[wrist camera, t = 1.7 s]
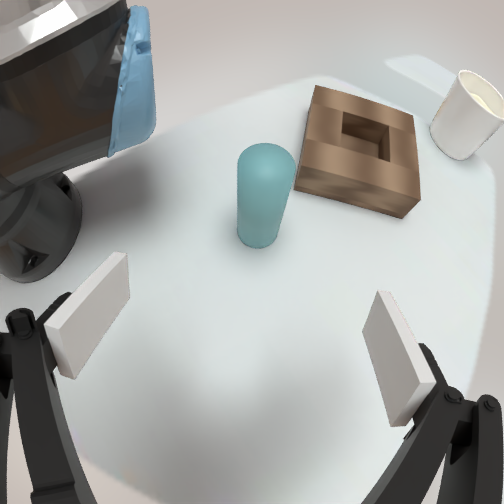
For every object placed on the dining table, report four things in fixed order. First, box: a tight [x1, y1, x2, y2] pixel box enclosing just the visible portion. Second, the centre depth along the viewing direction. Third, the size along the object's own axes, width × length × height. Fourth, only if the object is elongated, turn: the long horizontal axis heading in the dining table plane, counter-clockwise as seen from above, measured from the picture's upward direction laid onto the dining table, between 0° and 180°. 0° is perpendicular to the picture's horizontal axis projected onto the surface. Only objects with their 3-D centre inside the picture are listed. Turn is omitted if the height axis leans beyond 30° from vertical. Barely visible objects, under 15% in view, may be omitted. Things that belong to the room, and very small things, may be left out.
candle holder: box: [430, 70, 504, 160], centre depth 36 cm, size 10×10×12 cm
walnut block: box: [294, 85, 421, 219], centre depth 36 cm, size 14×14×5 cm
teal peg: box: [237, 143, 296, 248], centre depth 29 cm, size 4×4×12 cm
